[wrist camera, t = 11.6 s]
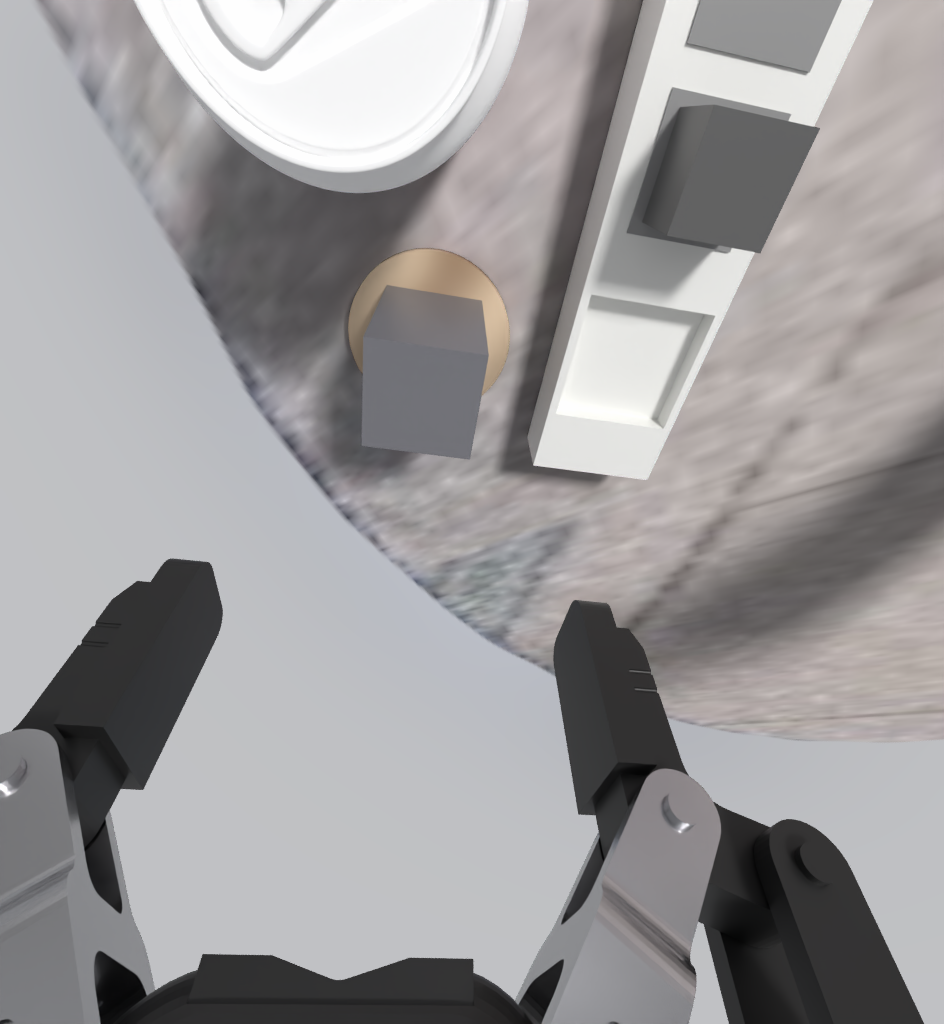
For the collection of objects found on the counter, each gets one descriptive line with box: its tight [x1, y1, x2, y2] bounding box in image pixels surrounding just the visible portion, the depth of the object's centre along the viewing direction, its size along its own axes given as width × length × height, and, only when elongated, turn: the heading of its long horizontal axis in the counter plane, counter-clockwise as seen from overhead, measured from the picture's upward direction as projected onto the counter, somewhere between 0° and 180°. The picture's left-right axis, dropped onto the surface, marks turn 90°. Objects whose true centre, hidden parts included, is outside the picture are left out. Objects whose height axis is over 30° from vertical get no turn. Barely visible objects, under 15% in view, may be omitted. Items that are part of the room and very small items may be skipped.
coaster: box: [348, 248, 510, 396], centre depth 24 cm, size 8×8×1 cm
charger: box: [361, 285, 489, 459], centre depth 21 cm, size 4×5×7 cm
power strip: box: [527, 0, 873, 480], centre depth 18 cm, size 6×26×6 cm, turn 171°
